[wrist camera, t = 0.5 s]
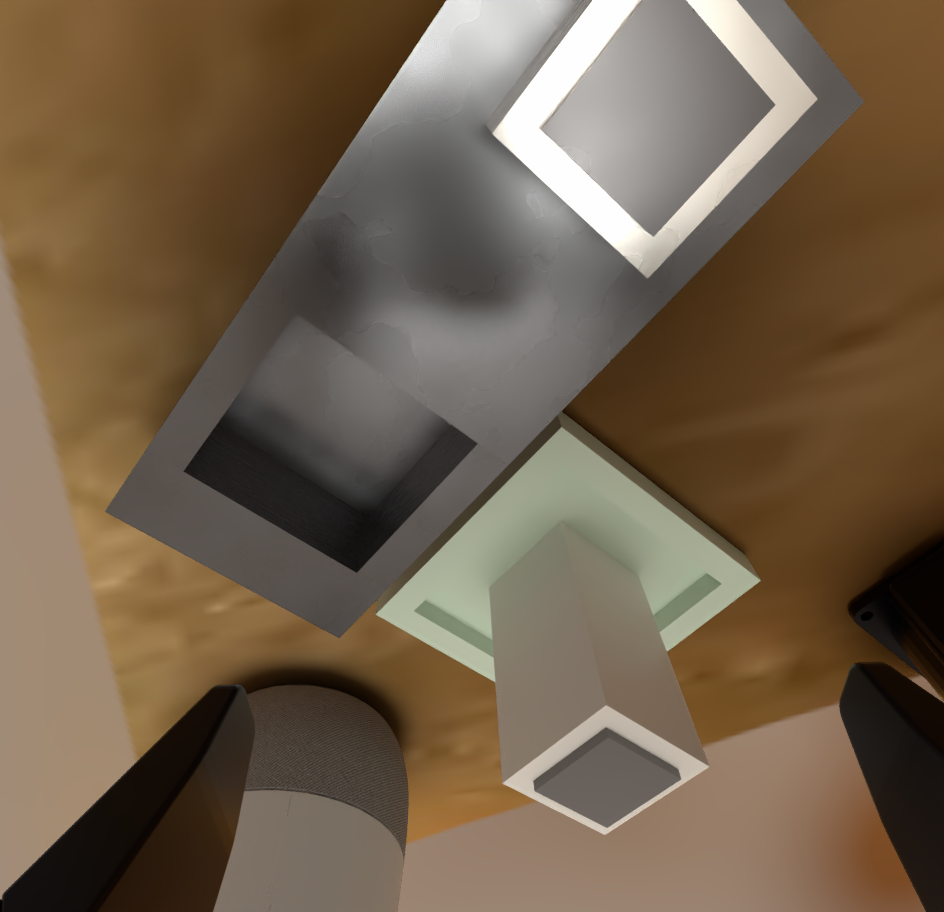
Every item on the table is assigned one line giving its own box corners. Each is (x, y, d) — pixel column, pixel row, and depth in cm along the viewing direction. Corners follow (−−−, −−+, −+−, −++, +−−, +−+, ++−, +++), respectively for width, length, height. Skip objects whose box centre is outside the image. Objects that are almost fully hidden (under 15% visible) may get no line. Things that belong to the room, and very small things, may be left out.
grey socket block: (566, -159, 15) (650, -335, 9) (783, 97, 18) (968, 107, 11) (158, 444, 22) (42, 589, 16) (354, 560, 25) (321, 723, 19)
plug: (638, 574, 25) (713, 776, 18) (565, 636, 26) (607, 845, 19) (561, 520, 24) (608, 714, 16) (488, 588, 25) (503, 793, 18)
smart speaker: (375, 640, 27) (311, 1096, 15) (437, 775, 32) (426, 1210, 19) (163, 684, 28) (-58, 1146, 16) (252, 809, 33) (133, 1244, 20)
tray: (745, 554, 25) (760, 580, 24) (565, 696, 29) (570, 725, 28) (555, 406, 22) (561, 427, 21) (379, 587, 26) (375, 614, 24)
